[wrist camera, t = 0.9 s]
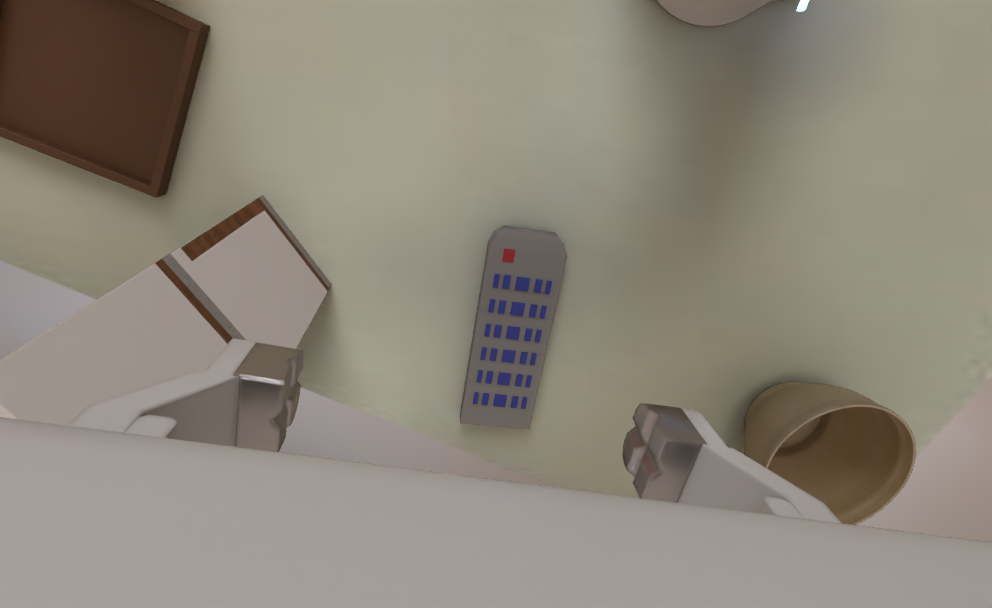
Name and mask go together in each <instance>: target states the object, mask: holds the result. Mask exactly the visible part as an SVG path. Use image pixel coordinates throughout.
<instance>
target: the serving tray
mask: <svg viewBox="0 0 992 608" xmlns="http://www.w3.org/2000/svg"><path fill="white" fill-rule="evenodd" d="M209 29H210V26H208V25H206V24H204V23H202V22H200V21H198V20H196V19H194V18H191V17H189V16H187V15H185V14H183V13H181V12H179V11H177V10H174V9H172V8H170V7H168V6H166V5H164V4H162V3H160V2H157V1H155V0H0V136H1V137H4V138H6V139H9V140H11V141H14V142H16V143H19V144H21V145H24V146H27V147H29V148H32V149H34V150H37V151H39V152H42V153H44V154H47V155H49V156H52V157H55V158H57V159H60V160H62V161H65V162H67V163H70V164H72V165H75V166H77V167H80V168H83V169H85V170H88V171H90V172H93V173H95V174H98V175H100V176H103V177H105V178H108V179H111V180H113V181H116V182H118V183H121V184H123V185H126V186H128V187H131V188H133V189H136V190H139V191H141V192H144V193H146V194H149V195H151V196H154V197H159V196H162V195H165V194H166V191H167V188H168V184H169V180H170V176H171V173H172V169H173V165H174V161H175V157H176V154H177V150H178V146H179V142H180V138H181V135H182V131H183V127H184V123H185V119H186V116H187V112H188V108H189V104H190V101H191V97H192V93H193V89H194V85H195V82H196V78H197V74H198V70H199V66H200V63H201V59H202V55H203V51H204V48H205V44H206V40H207V36H208V32H209Z"/></svg>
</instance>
